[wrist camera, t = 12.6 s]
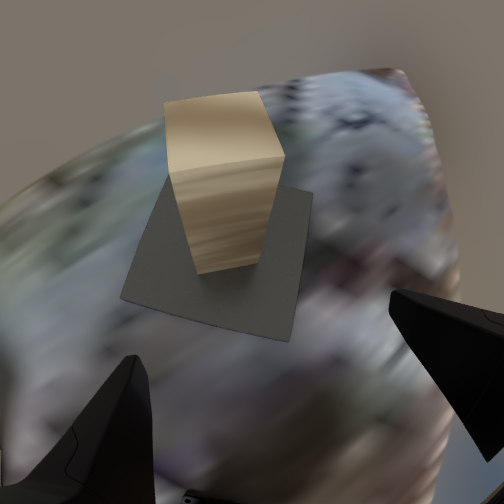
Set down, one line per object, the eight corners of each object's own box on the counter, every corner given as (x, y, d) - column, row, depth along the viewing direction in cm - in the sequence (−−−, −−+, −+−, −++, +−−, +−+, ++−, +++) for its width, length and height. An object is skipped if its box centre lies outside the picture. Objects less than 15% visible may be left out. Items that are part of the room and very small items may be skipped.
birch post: (257, 262, 24) (285, 155, 12) (197, 274, 23) (169, 172, 11) (244, 211, 26) (257, 91, 14) (188, 221, 25) (164, 102, 13)
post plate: (287, 342, 22) (299, 336, 18) (122, 299, 22) (103, 285, 19) (311, 196, 28) (322, 171, 24) (174, 168, 28) (168, 140, 24)
